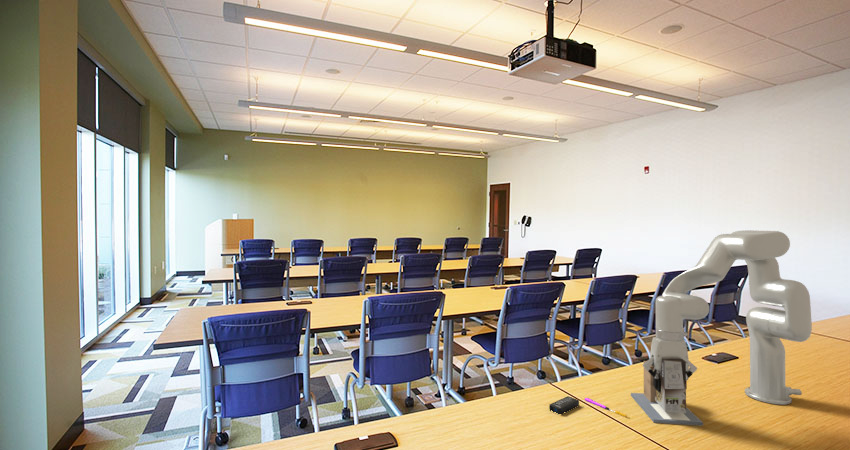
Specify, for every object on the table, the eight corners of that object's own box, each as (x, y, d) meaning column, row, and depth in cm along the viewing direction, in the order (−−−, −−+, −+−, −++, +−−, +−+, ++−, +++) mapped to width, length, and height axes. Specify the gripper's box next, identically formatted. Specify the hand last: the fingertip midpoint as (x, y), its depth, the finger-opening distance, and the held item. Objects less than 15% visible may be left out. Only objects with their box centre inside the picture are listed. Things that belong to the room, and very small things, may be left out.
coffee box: (687, 413, 125) (686, 361, 125) (664, 412, 126) (663, 360, 126) (675, 401, 134) (674, 352, 134) (654, 399, 135) (653, 351, 135)
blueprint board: (673, 397, 143) (672, 361, 143) (703, 425, 123) (702, 383, 123) (630, 395, 145) (630, 359, 145) (653, 422, 125) (653, 380, 125)
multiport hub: (579, 406, 137) (579, 400, 137) (560, 416, 130) (560, 409, 130) (568, 402, 140) (568, 395, 140) (548, 411, 134) (548, 404, 134)
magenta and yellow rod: (583, 400, 141) (627, 419, 128) (584, 397, 141) (628, 415, 128) (588, 400, 142) (632, 419, 129) (589, 397, 143) (632, 415, 129)
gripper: (692, 332, 132) (693, 387, 132) (636, 331, 135) (636, 384, 135) (704, 339, 125) (705, 397, 125) (644, 337, 127) (645, 394, 127)
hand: (669, 390), depth 130 cm, fingers closed on coffee box, 6 cm apart
